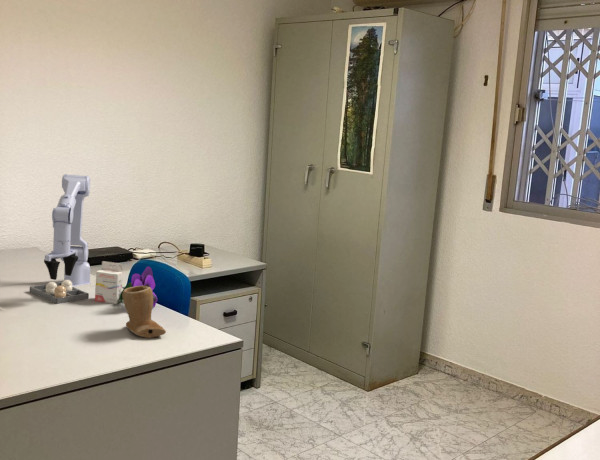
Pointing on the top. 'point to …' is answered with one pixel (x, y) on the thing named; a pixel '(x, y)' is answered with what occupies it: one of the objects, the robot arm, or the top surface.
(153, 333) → the brown felt boot
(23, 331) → the top surface
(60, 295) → the brown egg
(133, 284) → the flower
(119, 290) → the ink cartridge box
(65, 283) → the cream egg
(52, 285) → the cream egg
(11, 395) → the top surface
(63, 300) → the carton
